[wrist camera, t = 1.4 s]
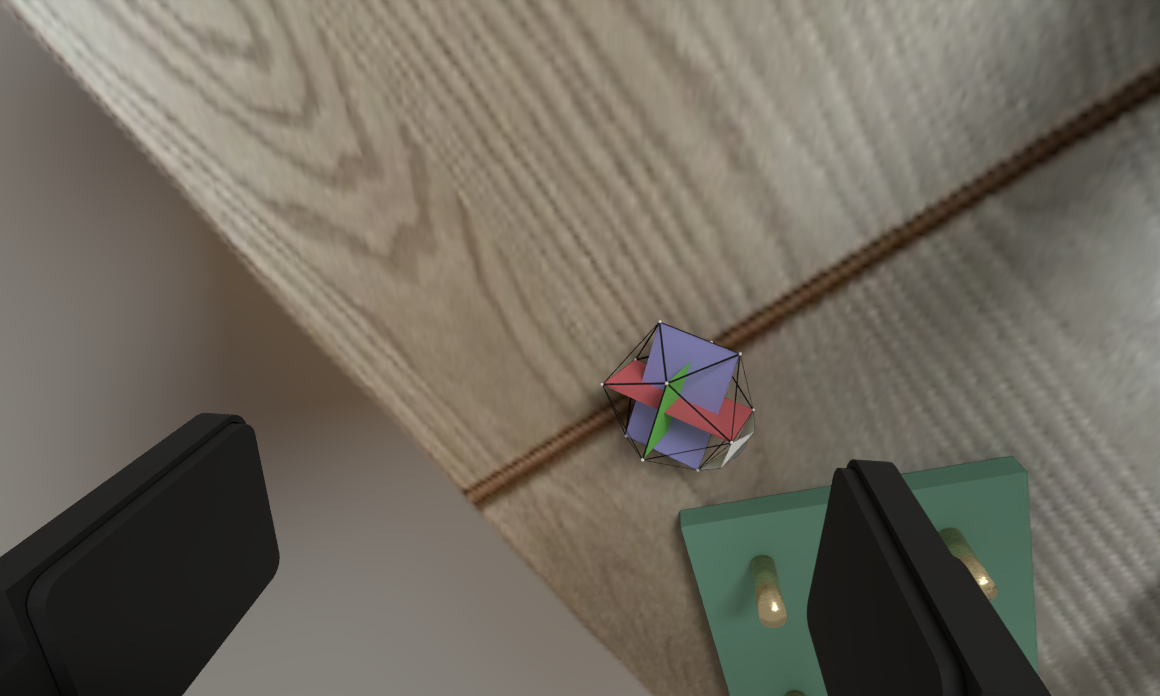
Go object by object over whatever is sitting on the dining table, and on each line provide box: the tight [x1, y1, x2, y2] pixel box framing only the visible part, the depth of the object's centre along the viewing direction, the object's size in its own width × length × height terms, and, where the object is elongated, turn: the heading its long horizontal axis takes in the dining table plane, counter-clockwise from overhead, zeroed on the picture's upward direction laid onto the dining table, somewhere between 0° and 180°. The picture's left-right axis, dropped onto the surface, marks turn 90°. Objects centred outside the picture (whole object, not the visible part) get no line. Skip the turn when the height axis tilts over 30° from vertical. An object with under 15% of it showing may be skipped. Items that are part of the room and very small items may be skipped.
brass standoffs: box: [750, 528, 998, 696], centre depth 36 cm, size 11×12×4 cm
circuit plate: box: [680, 456, 1038, 696], centre depth 38 cm, size 18×18×2 cm
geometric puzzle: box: [600, 320, 755, 472], centre depth 31 cm, size 7×7×8 cm
